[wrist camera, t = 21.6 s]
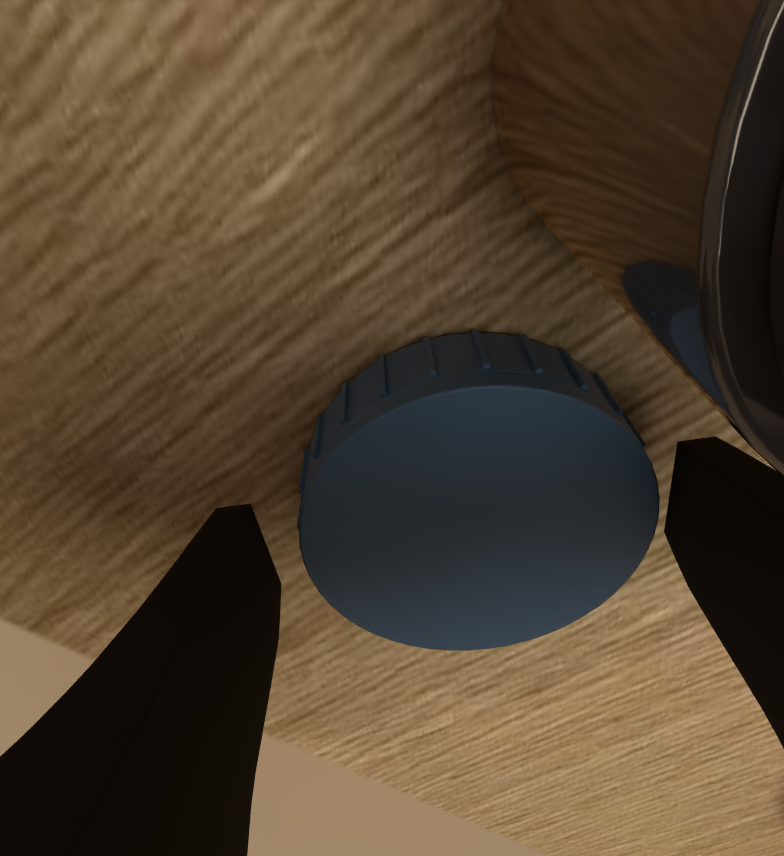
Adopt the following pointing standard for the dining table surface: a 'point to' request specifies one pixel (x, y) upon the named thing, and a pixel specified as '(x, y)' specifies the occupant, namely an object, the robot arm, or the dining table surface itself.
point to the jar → (663, 175)
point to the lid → (474, 494)
